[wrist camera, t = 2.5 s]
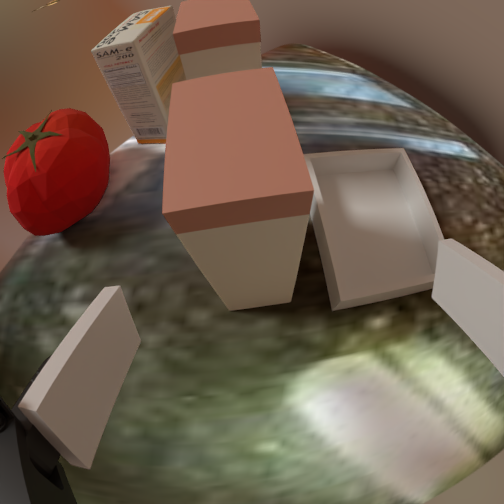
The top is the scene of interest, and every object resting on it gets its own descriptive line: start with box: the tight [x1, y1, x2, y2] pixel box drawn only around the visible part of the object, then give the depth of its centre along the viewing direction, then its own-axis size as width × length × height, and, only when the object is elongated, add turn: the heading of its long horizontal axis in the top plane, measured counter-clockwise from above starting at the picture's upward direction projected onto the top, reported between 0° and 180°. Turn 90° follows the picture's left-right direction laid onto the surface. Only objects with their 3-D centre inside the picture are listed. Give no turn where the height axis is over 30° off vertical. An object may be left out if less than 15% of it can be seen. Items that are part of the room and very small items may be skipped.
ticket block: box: [173, 0, 262, 80], centre depth 20 cm, size 5×7×15 cm, turn 7°
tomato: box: [3, 108, 110, 236], centre depth 22 cm, size 11×13×10 cm
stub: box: [162, 67, 314, 311], centre depth 16 cm, size 4×7×14 cm, turn 7°
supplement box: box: [91, 6, 186, 144], centre depth 24 cm, size 8×5×13 cm, turn 169°
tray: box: [303, 148, 444, 311], centre depth 21 cm, size 10×12×3 cm
